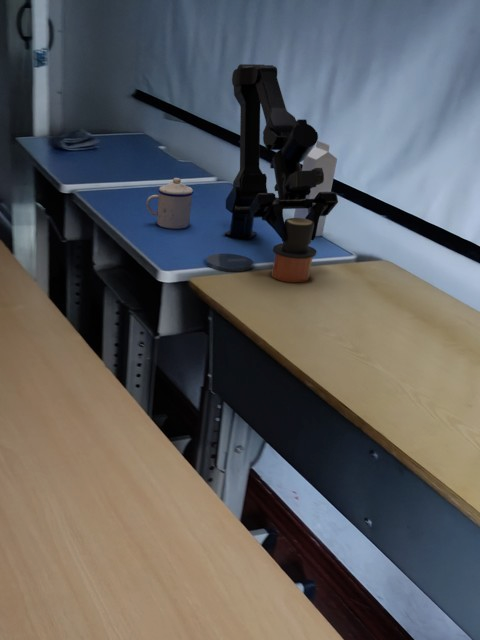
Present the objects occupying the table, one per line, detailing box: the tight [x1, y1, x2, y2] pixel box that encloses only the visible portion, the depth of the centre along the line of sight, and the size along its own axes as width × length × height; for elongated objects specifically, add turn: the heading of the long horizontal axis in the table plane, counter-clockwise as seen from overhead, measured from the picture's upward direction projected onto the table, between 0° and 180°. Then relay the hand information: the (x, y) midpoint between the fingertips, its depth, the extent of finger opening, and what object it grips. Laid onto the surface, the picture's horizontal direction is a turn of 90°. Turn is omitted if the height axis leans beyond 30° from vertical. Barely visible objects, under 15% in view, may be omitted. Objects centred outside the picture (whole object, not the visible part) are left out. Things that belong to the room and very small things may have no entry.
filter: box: [272, 217, 318, 259], centre depth 185 cm, size 10×10×8 cm
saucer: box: [205, 253, 254, 272], centre depth 195 cm, size 11×11×1 cm
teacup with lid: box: [146, 177, 194, 230], centre depth 219 cm, size 12×9×12 cm
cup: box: [271, 253, 314, 283], centre depth 188 cm, size 8×8×6 cm
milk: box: [293, 140, 338, 237], centre depth 212 cm, size 6×6×22 cm
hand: (299, 239), depth 183 cm, fingers closed on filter, 6 cm apart
